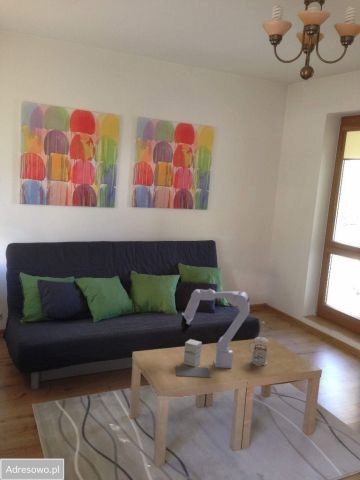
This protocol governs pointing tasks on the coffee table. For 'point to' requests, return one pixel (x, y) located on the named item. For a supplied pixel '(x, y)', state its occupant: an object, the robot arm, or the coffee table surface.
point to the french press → (259, 359)
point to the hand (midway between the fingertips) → (182, 329)
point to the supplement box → (192, 352)
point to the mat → (192, 371)
